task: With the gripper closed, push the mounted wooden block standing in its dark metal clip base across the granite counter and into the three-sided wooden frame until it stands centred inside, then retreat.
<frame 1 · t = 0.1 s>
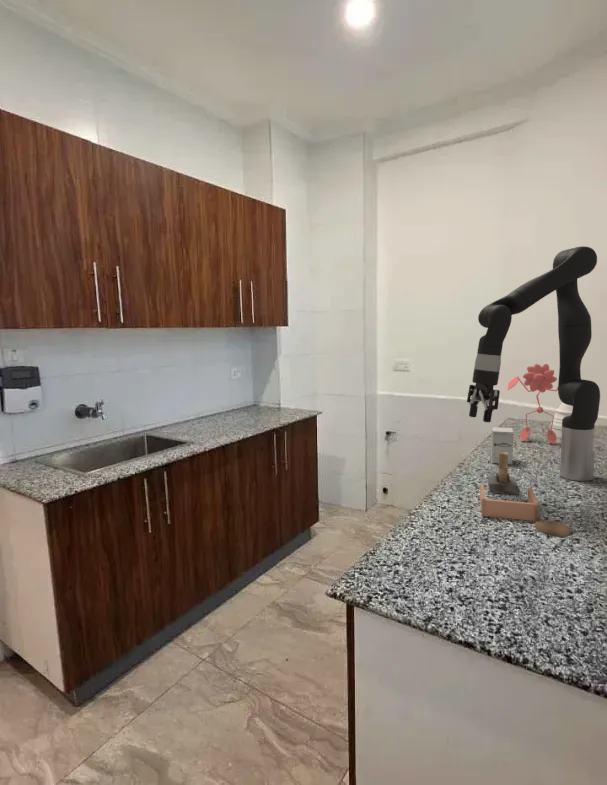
hand: (479, 419, 143), 22 cm above the counter, tool pointing down, fingers open, 8 cm apart
mounted wooden block: (502, 489, 143), on the counter
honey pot: (566, 435, 206), on the counter
three-sided wooden frame: (506, 508, 128), on the counter
supplement box: (501, 461, 171), on the counter
figurine: (536, 444, 192), on the counter
lid: (552, 530, 114), on the counter
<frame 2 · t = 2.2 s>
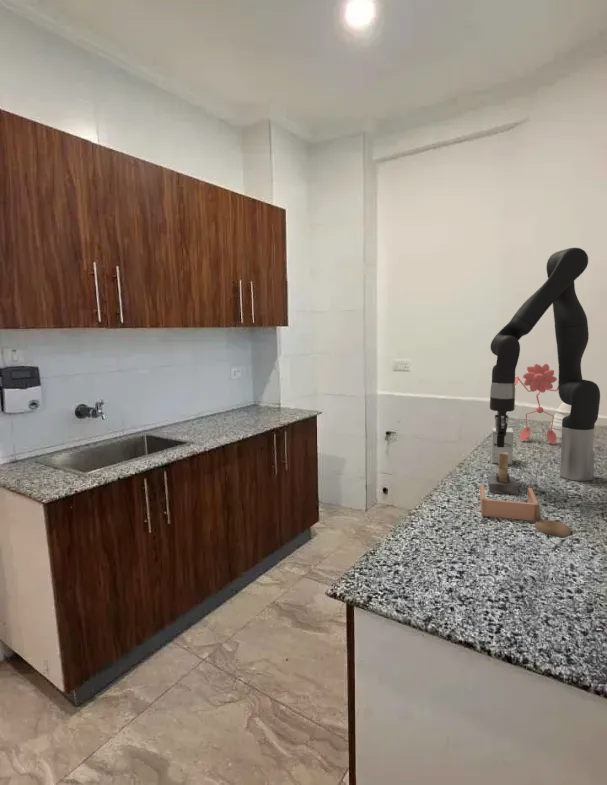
hand: (500, 446, 150), 11 cm above the counter, tool pointing down, fingers closed
nothing on the counter moved.
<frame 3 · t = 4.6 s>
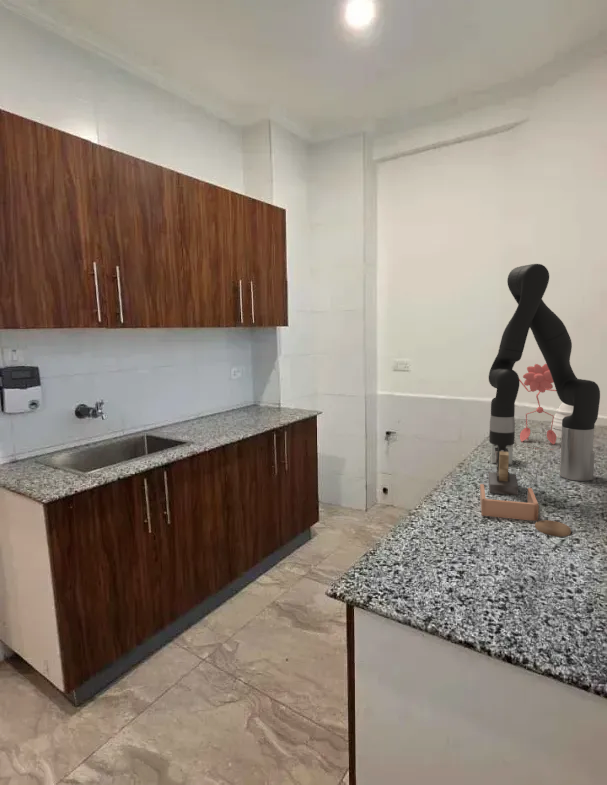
hand: (500, 480, 147), 1 cm above the counter, tool pointing down, fingers closed
mounted wooden block: (502, 487, 142), point 1 cm above the counter, tilted 10°, touching gripper, hand
everything else where it was.
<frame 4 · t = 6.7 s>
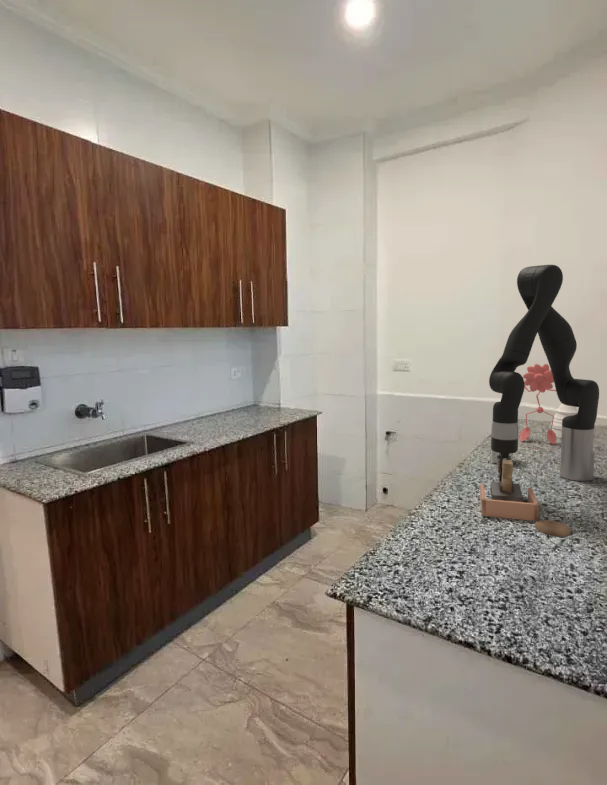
hand: (502, 489, 139), 1 cm above the counter, tool pointing down, fingers closed
mounted wooden block: (505, 498, 133), point 1 cm above the counter, tilted 10°, touching gripper, hand
everything else where it was.
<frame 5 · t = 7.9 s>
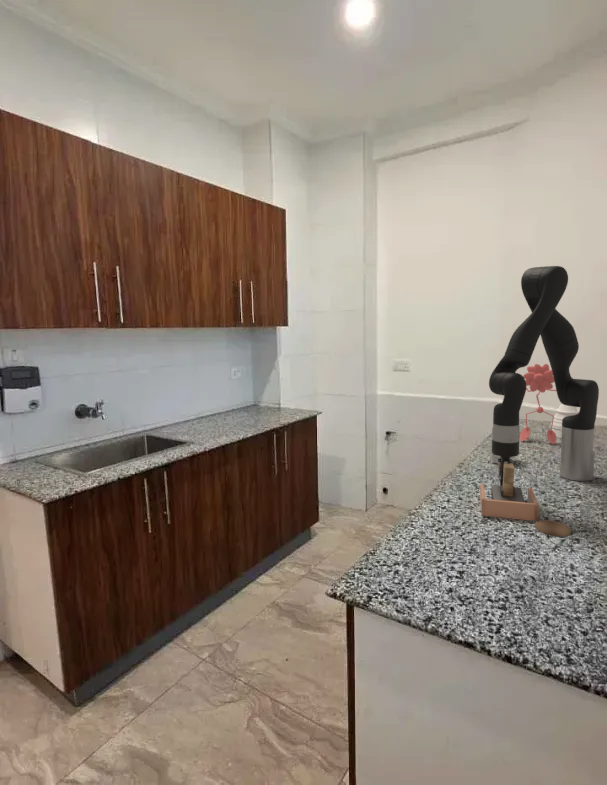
hand: (503, 494, 135), 1 cm above the counter, tool pointing down, fingers closed
mounted wooden block: (506, 502, 130), point 1 cm above the counter, tilted 10°, touching gripper, hand
everything else where it was.
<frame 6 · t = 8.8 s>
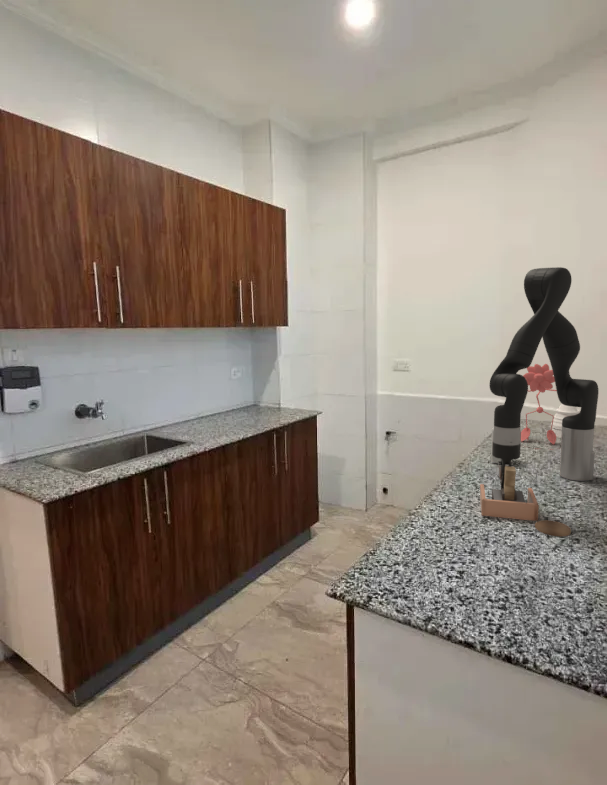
hand: (504, 497, 133), 1 cm above the counter, tool pointing down, fingers closed
mounted wooden block: (508, 506, 127), point 1 cm above the counter, tilted 10°, touching gripper, hand
everything else where it was.
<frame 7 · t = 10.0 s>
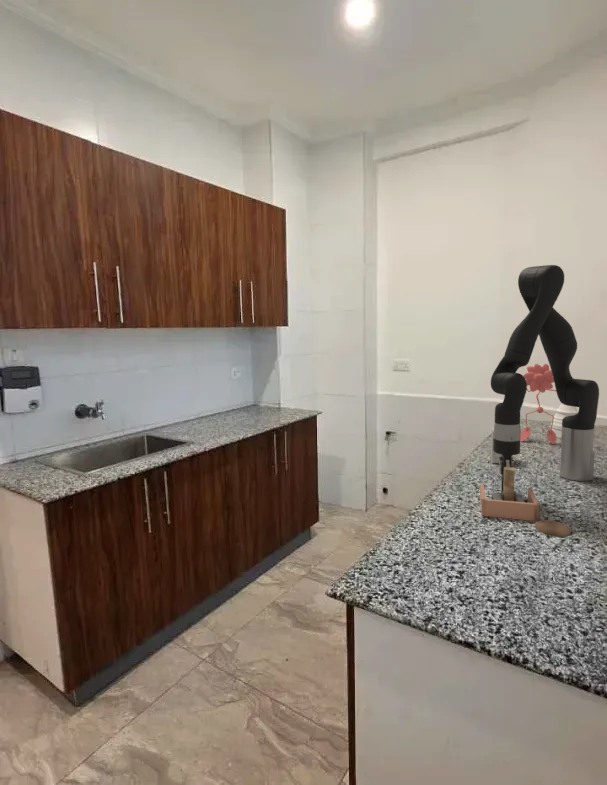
hand: (505, 491, 138), 1 cm above the counter, tool pointing down, fingers closed
mounted wooden block: (507, 509, 127), on the counter
everything else where it was.
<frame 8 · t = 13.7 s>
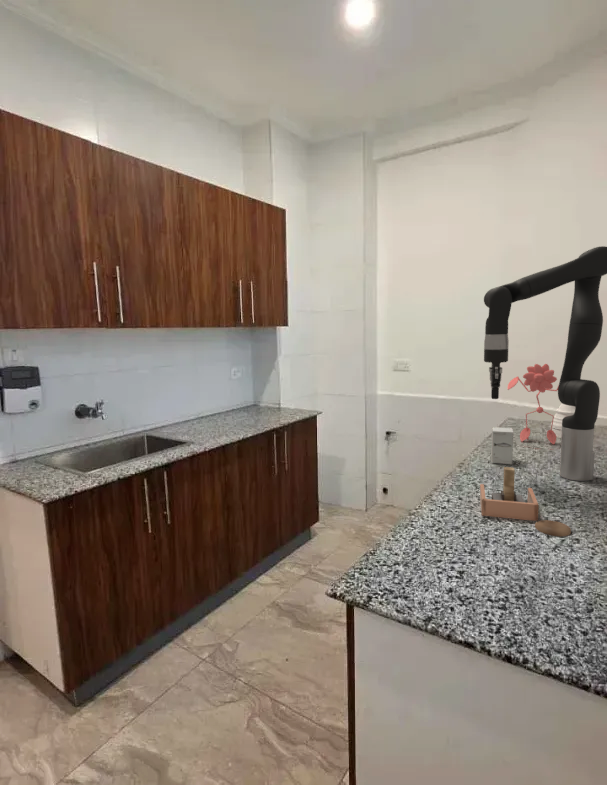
hand: (494, 398, 152), 27 cm above the counter, tool pointing down, fingers closed
nothing on the counter moved.
at the end: mounted wooden block 0.4 cm off-centre on the three-sided wooden frame, point 0.0 cm above the three-sided wooden frame's base; mounted wooden block tilted 0°; mounted wooden block moved 16.2 cm from its start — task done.
